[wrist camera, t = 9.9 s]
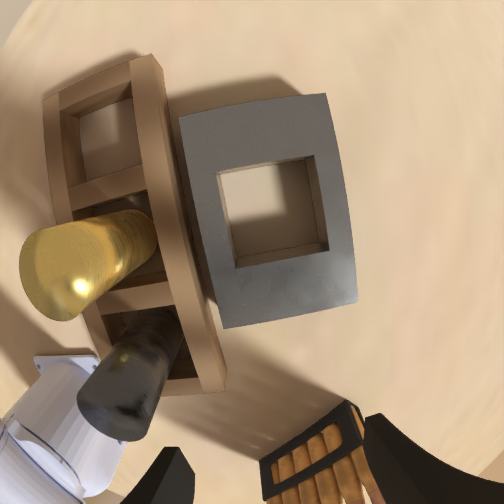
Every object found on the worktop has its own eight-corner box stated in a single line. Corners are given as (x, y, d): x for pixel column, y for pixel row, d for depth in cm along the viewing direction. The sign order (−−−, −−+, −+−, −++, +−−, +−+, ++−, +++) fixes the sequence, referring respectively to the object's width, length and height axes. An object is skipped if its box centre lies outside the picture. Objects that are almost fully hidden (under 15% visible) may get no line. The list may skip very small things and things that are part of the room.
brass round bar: (163, 258, 18) (99, 316, 9) (115, 268, 18) (36, 324, 9) (150, 203, 17) (71, 218, 8) (102, 216, 17) (10, 240, 9)
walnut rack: (227, 370, 20) (225, 391, 17) (129, 378, 20) (119, 397, 18) (162, 68, 15) (151, 53, 13) (62, 108, 16) (42, 100, 13)
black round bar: (189, 349, 19) (159, 443, 11) (144, 353, 19) (97, 438, 11) (175, 302, 19) (128, 385, 10) (128, 309, 19) (64, 384, 10)
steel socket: (345, 288, 19) (358, 301, 16) (226, 311, 19) (223, 329, 16) (315, 104, 16) (325, 93, 14) (187, 126, 16) (178, 117, 14)
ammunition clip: (346, 398, 21) (396, 514, 9) (358, 407, 21) (408, 515, 9) (258, 460, 22) (263, 565, 11) (272, 466, 23) (281, 567, 11)
